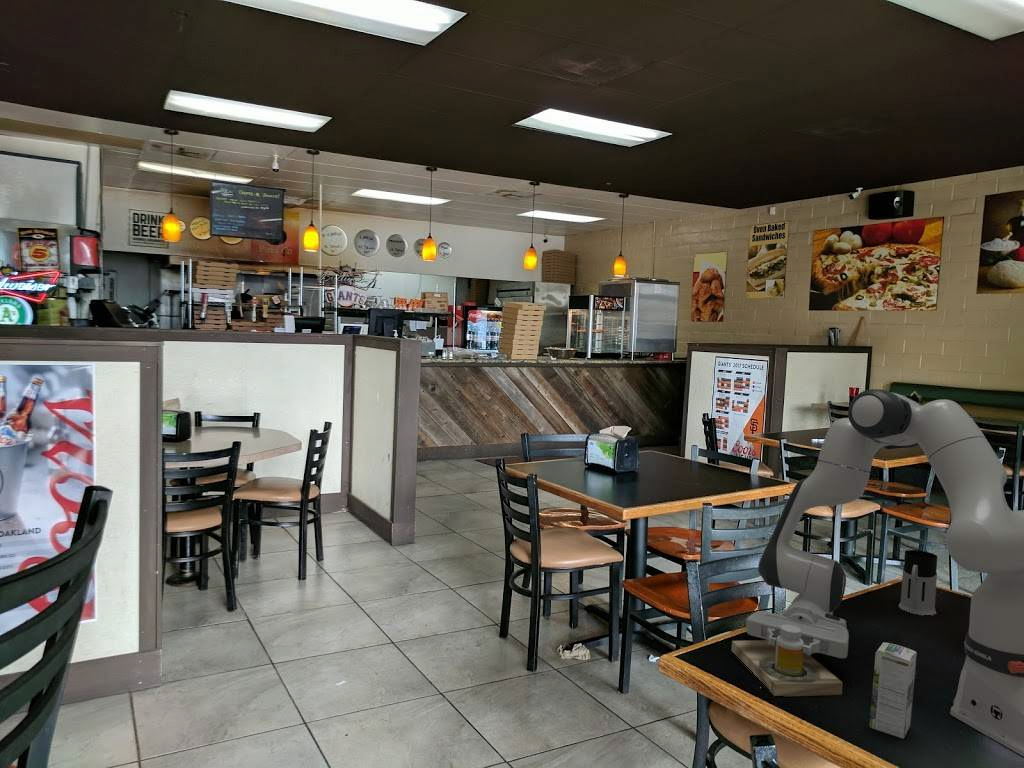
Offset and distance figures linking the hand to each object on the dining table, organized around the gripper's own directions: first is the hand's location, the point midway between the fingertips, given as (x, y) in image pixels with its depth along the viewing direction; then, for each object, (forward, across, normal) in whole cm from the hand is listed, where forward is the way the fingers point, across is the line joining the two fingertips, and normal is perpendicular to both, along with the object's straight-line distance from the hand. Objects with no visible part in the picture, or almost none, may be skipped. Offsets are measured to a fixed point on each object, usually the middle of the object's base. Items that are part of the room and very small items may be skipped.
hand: (789, 646), depth 144 cm
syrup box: (+7, +19, +8) cm, 22 cm away
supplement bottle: (-1, 0, +6) cm, 6 cm away
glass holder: (-62, +19, +8) cm, 66 cm away
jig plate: (-4, -2, +8) cm, 9 cm away
